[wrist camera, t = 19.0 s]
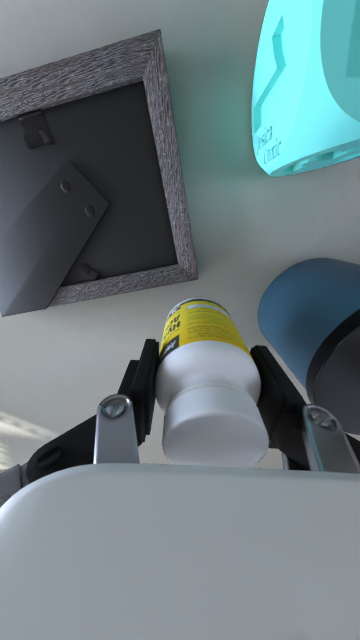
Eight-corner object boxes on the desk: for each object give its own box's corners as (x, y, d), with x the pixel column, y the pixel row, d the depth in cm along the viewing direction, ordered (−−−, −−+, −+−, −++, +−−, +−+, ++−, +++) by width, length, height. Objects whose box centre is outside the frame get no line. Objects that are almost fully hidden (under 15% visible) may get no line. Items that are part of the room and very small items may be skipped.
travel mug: (335, 353, 24) (444, 441, 14) (245, 348, 24) (291, 433, 14) (383, 259, 19) (603, 291, 9) (270, 251, 19) (368, 276, 9)
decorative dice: (249, 46, 13) (330, -175, 6) (372, 12, 12) (633, -284, 5) (251, 183, 17) (304, 149, 9) (348, 163, 16) (486, 108, 9)
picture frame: (17, 309, 22) (197, 275, 20) (2, 316, 20) (198, 280, 18) (-94, 127, 15) (162, 50, 13) (-131, 113, 13) (159, 21, 11)
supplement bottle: (170, 289, 14) (153, 384, 6) (238, 302, 15) (322, 409, 6) (160, 347, 17) (137, 479, 8) (219, 357, 17) (260, 493, 8)
